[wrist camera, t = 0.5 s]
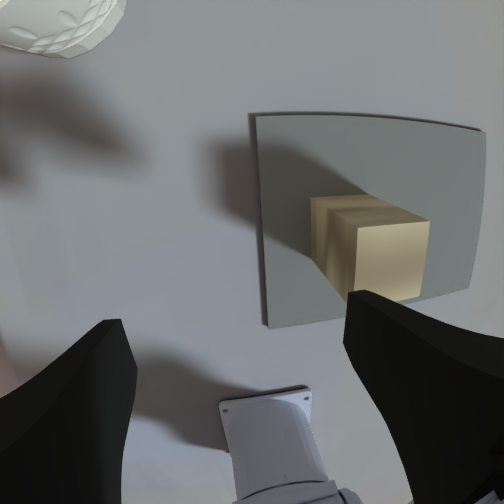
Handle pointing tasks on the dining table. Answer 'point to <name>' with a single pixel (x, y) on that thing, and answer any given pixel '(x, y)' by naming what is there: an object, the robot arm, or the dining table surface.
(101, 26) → the white cup
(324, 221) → the maple block
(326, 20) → the dining table surface
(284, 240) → the rubber mat
